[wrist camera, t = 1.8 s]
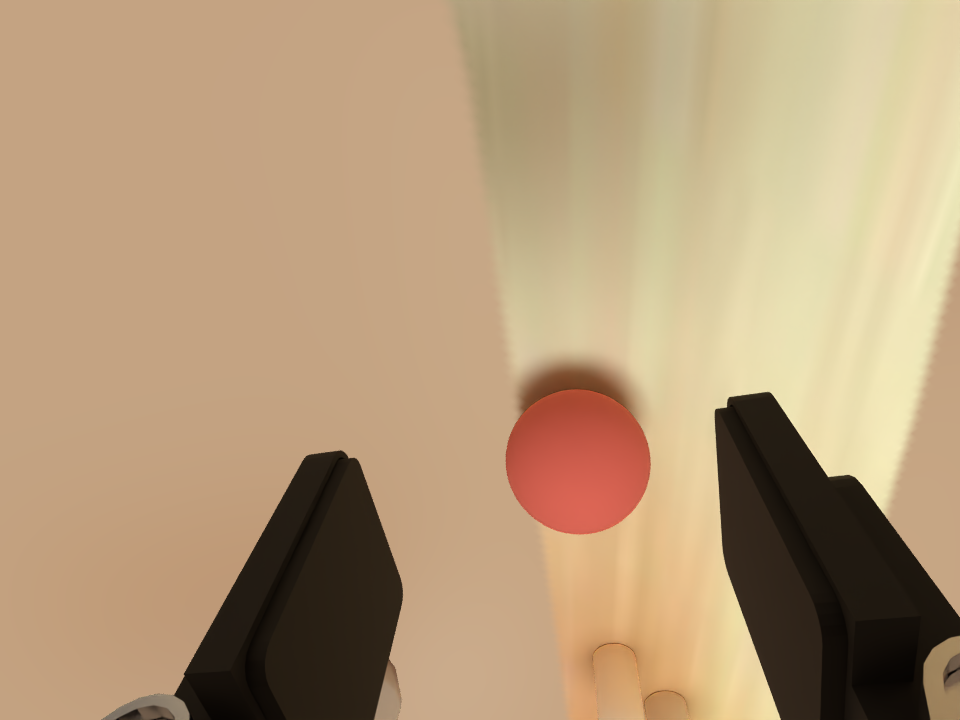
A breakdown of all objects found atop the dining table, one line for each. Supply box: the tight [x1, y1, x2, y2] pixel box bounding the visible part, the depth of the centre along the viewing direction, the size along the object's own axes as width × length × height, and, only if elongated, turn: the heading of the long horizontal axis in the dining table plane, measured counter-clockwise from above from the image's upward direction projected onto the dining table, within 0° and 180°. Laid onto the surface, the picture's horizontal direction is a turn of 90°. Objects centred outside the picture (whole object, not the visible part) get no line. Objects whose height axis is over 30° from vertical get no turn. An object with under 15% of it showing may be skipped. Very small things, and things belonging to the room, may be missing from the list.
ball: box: [506, 389, 651, 534], centre depth 27 cm, size 6×6×6 cm
